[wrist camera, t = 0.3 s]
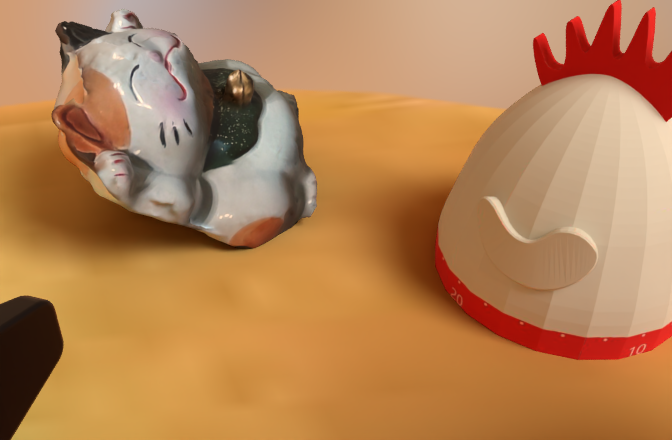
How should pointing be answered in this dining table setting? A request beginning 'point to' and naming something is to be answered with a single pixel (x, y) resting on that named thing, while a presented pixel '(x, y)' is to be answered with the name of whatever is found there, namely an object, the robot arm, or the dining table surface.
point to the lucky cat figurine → (181, 133)
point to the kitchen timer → (571, 204)
